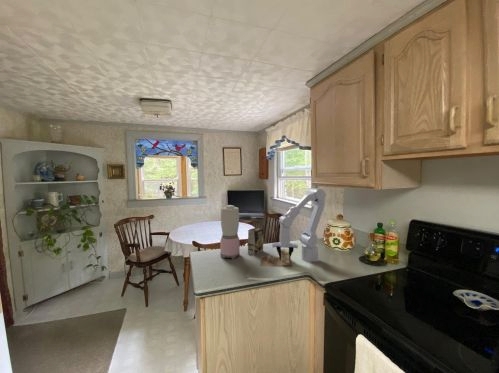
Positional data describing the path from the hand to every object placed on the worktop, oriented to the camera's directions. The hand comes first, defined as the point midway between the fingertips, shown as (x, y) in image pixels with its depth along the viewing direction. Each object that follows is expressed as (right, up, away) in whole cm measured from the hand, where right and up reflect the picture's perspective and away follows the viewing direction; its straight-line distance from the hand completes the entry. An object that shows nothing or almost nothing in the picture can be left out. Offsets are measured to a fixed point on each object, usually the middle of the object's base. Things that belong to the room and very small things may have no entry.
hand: (284, 259), depth 128 cm
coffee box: (-16, -1, +16) cm, 23 cm away
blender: (-33, -1, +13) cm, 35 cm away
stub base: (-5, -2, +1) cm, 6 cm away
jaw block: (0, -1, 0) cm, 1 cm away
